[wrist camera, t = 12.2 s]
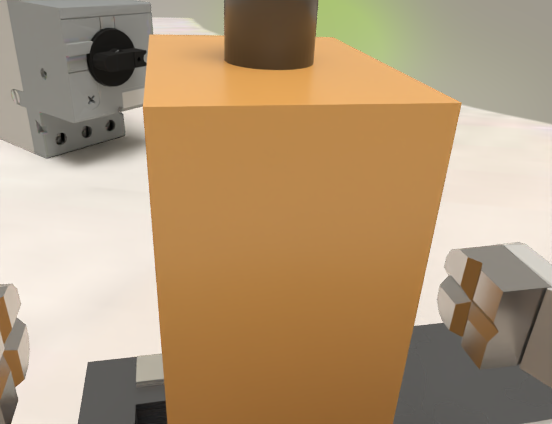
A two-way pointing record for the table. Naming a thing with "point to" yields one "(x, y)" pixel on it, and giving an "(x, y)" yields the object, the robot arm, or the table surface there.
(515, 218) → the table surface
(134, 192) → the table surface
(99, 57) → the circuit breaker
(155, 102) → the plug
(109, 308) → the table surface
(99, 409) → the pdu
